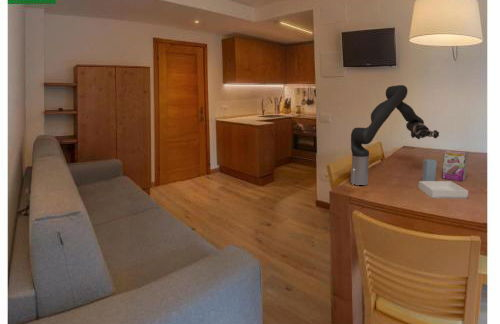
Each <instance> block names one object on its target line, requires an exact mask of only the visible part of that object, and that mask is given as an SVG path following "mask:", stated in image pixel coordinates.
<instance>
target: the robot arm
mask: <svg viewBox="0 0 500 324" xmlns="http://www.w3.org/2000/svg"><path fill="white" fill-rule="evenodd" d="M408 90H409V89H408V87H407V86H405V85H404V84H400V85H399V84H398V85H391V86H388V87H387V88H386V90H385V97H386V99H385V100H384V101H382V102H380V103H379V104H377V105H376V107H375V108H374V109H373V110H372V112H371V113H370V122H371V123H370V124H369V126H368V127H354V128H352V131H351V134H350V149H351V153H352V154H351V167H350V184H351V183H352V184H357V185H366V186H368V185H369V167H370V166H369V162H370V161H369V160H370V151H369V150H368V149H367V148H365V147H364V146H363V145H369V144H370V143H371V142H372V141H373V139H374V138H375V137H376V135H377V133H378V131H379V130H380V128H381V127H382V126H383V124H384V123H385V122H386V121H387V120H388V118H390V116H391V115H392V113H393V112H394V110H395V109H397V110H398V111H399V113H400V114H401V116H402V117H403V119H404V120H405V121H406V124H405V125H406V129H407V130H408V131H409V132H410V136H411V138H416V139H417V140H420V139H424V138H427V137H428V138H434V139H437V138H439V136H440V132H439V131H438V130H436V129H435V130H433V131H432V130H430V129H429V127H428V126H427V125H425V122H424V121H425V120H424V119H422V118H421V117H420V116H418V115H417V114H416V112H415V110H414V109H413V108H412V106H410V105H409V104H407V103H406V102H404V100H405V99H406V97H407V95H408ZM352 184H351V185H352ZM367 184H368V185H367Z"/></svg>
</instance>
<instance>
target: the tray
mask: <svg viewBox="0 0 500 324" xmlns="http://www.w3.org/2000/svg"><path fill="white" fill-rule="evenodd" d="M418 189H419V190H420V191H422V192H423V193H424V194H425V195H427V196H428V197H430V198H431V199H446V200H447V199H450V200H451V199H453V200H454V199H456V200H458V199H459V200H460V199H461V200H463V199H464V200H466V199H469V198H468V196H469V190H468V189H465V188H464V187H462V186H460V185H458V183H455V182H453V181H452V180H435V181H422V180H419V181H418Z"/></svg>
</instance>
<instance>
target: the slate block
mask: <svg viewBox="0 0 500 324" xmlns="http://www.w3.org/2000/svg"><path fill="white" fill-rule="evenodd" d="M437 162H438V161H437V160H435V159H428V158H425V159H423V164H422V174H421V175H422V178H421V181H436V177H437V166H438V165H437Z"/></svg>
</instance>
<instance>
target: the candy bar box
mask: <svg viewBox="0 0 500 324" xmlns="http://www.w3.org/2000/svg"><path fill="white" fill-rule="evenodd" d="M468 157H469V153H468V152H459V151H449V150H447V151H444V152H443V162H442V170H441V171H442V172H441V179H444V180H448V181H457V182H464V181H465V180H466V175H467V167H468V166H467V165H468Z"/></svg>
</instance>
